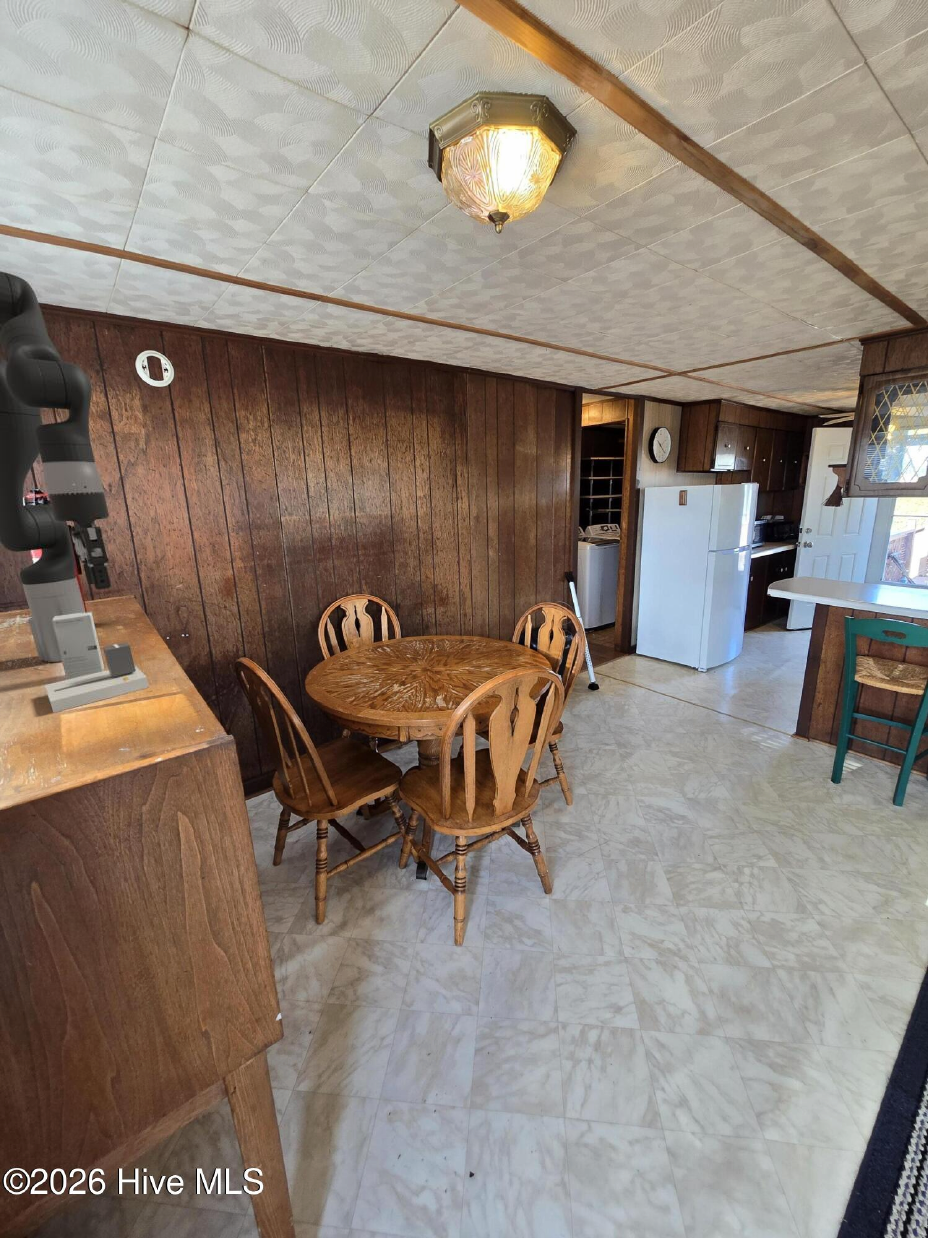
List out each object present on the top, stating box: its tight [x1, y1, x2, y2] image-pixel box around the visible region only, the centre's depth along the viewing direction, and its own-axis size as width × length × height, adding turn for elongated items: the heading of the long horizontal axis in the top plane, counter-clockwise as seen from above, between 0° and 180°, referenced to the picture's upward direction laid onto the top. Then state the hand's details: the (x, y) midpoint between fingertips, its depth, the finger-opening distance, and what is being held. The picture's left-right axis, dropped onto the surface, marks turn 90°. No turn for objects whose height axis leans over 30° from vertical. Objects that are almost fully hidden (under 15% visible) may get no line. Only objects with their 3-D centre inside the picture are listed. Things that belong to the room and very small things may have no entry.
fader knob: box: [102, 642, 136, 677], centre depth 90 cm, size 4×3×5 cm
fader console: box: [44, 664, 150, 714], centre depth 88 cm, size 14×11×2 cm
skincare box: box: [52, 611, 105, 680], centre depth 97 cm, size 6×4×12 cm
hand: (99, 586), depth 87 cm, fingers open, 8 cm apart
